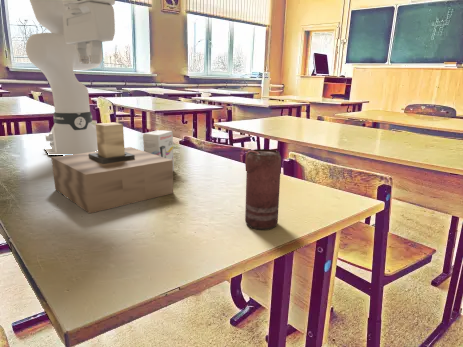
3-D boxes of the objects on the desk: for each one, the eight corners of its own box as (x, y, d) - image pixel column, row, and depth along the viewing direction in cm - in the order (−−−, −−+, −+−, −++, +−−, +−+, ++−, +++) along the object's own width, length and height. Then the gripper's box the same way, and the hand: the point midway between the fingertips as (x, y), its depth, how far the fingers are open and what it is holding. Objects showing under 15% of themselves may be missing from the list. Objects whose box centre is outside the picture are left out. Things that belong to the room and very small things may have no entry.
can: (242, 218, 71) (243, 148, 67) (273, 217, 71) (277, 148, 68) (245, 230, 65) (248, 154, 61) (280, 230, 65) (284, 154, 62)
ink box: (160, 178, 97) (158, 135, 94) (143, 176, 98) (141, 133, 95) (175, 170, 105) (173, 130, 102) (159, 169, 106) (157, 129, 103)
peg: (98, 162, 84) (95, 123, 81) (116, 159, 86) (114, 122, 84) (107, 166, 80) (104, 125, 78) (125, 163, 83) (122, 124, 81)
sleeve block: (55, 190, 86) (51, 153, 83) (132, 175, 99) (130, 143, 97) (89, 213, 72) (85, 169, 69) (173, 193, 85) (172, 155, 83)
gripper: (53, 2, 85) (59, 63, 89) (88, -12, 71) (94, 62, 74) (80, 6, 89) (85, 64, 93) (118, -6, 75) (122, 63, 78)
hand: (89, 63), depth 83 cm, fingers open, 5 cm apart
